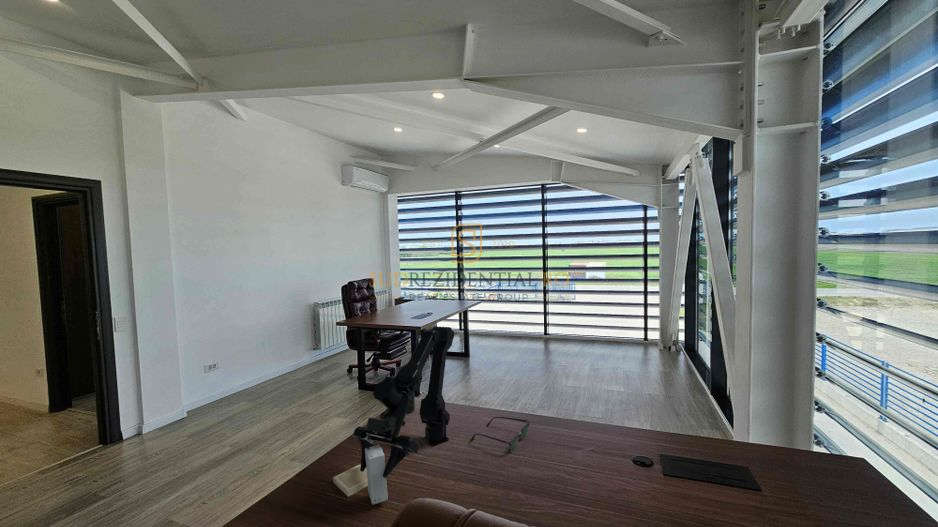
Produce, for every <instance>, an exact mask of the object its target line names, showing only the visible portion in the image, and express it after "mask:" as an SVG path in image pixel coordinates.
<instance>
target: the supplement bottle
mask: <svg viewBox="0 0 938 527" xmlns="http://www.w3.org/2000/svg"><path fill="white" fill-rule="evenodd" d="M402 393H405V394H406V395H411V398H412V400H413V405H409V407H408V410H407V412H406V415H407V414H412V413H413V412H415V409H416V408H415V407H416V405H415V404H416V402H415V401H416V400H415V399H416V396H415V393H409V392H402Z"/></svg>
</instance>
